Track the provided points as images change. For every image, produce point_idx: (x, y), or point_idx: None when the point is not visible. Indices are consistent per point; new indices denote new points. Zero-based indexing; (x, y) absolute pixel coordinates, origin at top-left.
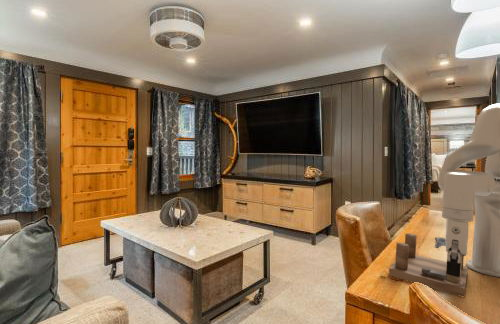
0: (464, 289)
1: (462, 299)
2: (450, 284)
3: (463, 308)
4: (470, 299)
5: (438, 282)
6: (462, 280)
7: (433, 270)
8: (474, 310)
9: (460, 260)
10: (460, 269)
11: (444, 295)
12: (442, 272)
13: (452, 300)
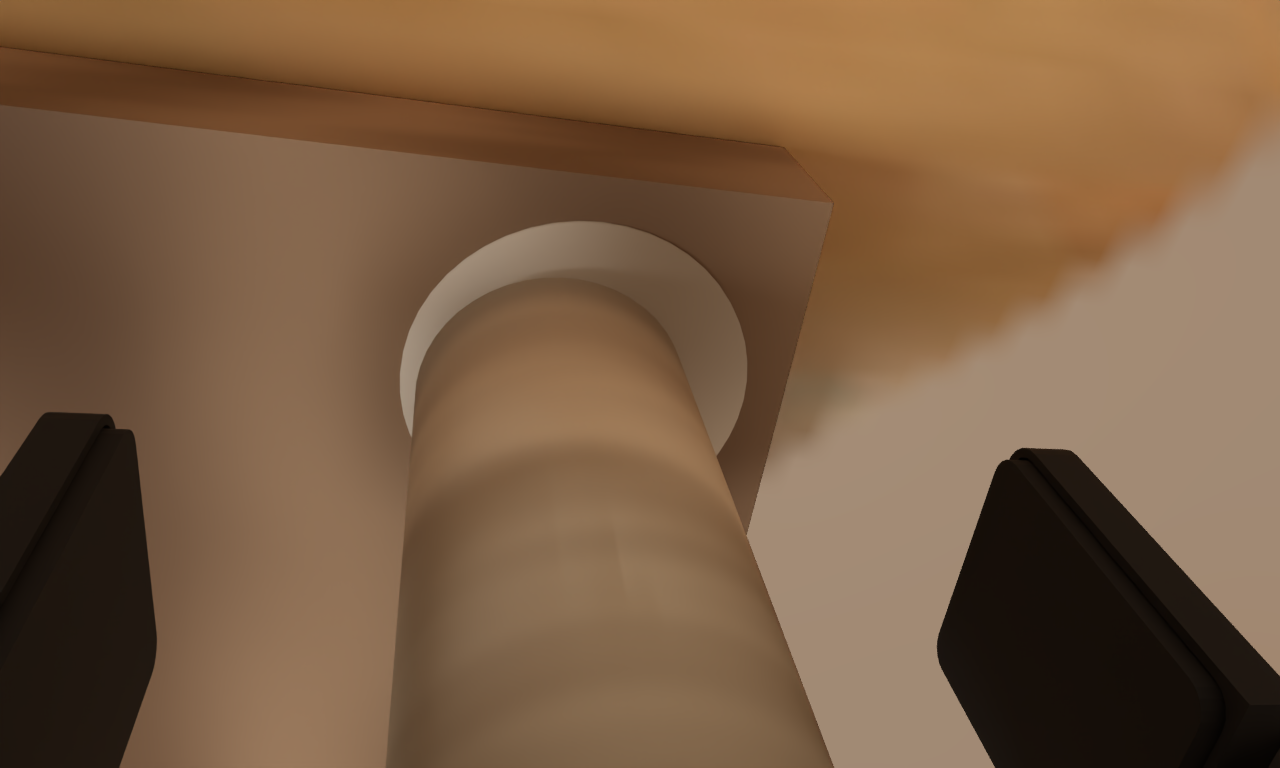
0: (826, 201)
1: (883, 179)
2: (758, 422)
3: (1200, 190)
4: (817, 52)
5: None
6: (357, 210)
7: (181, 673)
8: (1215, 42)
9: (774, 680)
10: (676, 460)
11: (864, 410)
12: (160, 546)
13: (990, 316)
